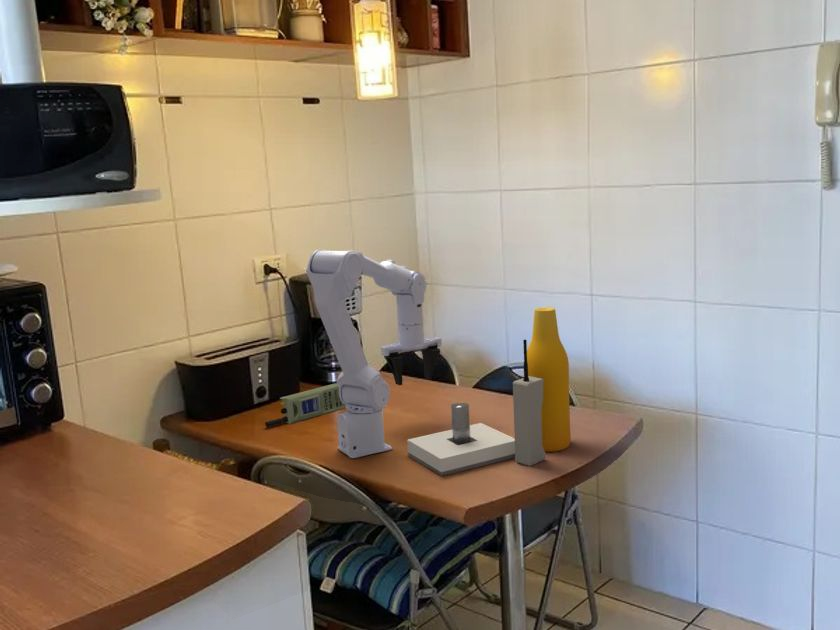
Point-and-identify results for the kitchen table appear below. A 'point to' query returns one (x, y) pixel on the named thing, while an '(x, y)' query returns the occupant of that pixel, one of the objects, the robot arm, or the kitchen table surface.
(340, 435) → the robot arm
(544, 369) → the beer bottle
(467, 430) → the steel pin
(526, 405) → the vintage mobile phone
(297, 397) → the handheld radio
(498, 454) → the grey hole plate
